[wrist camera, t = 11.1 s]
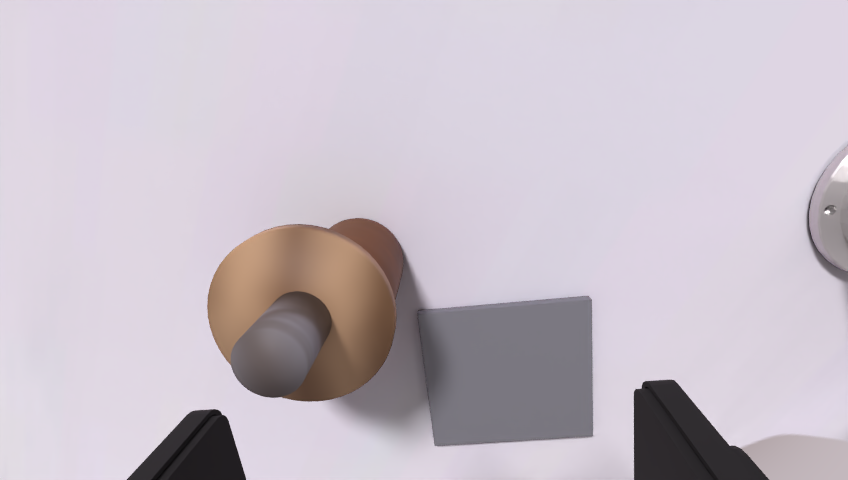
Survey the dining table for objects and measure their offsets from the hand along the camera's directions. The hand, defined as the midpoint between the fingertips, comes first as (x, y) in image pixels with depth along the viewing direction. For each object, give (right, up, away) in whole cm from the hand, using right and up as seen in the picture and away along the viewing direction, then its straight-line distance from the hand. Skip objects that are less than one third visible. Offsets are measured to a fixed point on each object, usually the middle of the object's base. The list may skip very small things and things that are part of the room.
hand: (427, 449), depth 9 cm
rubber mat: (+8, -8, +29) cm, 31 cm away
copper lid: (-8, 0, +18) cm, 20 cm away
